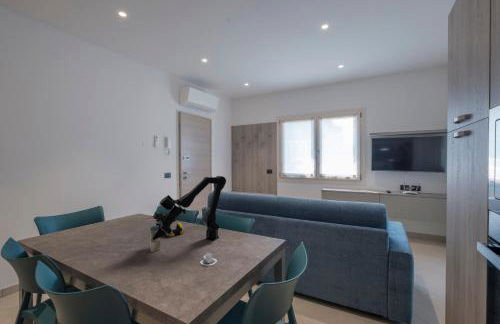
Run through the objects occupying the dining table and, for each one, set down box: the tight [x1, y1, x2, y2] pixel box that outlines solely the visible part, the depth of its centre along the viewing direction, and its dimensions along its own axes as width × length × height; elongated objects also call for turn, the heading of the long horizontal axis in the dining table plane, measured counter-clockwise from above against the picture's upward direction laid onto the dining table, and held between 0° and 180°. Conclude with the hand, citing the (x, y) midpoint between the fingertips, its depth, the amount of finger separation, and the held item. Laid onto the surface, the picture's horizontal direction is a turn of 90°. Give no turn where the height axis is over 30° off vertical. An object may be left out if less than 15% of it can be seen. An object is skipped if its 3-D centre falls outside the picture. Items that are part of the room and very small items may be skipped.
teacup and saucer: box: [200, 252, 218, 267], centre depth 111 cm, size 9×8×4 cm
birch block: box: [149, 225, 161, 253], centre depth 126 cm, size 4×4×12 cm
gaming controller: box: [165, 222, 185, 238], centre depth 152 cm, size 15×6×10 cm
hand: (152, 238), depth 125 cm, fingers open, 5 cm apart
